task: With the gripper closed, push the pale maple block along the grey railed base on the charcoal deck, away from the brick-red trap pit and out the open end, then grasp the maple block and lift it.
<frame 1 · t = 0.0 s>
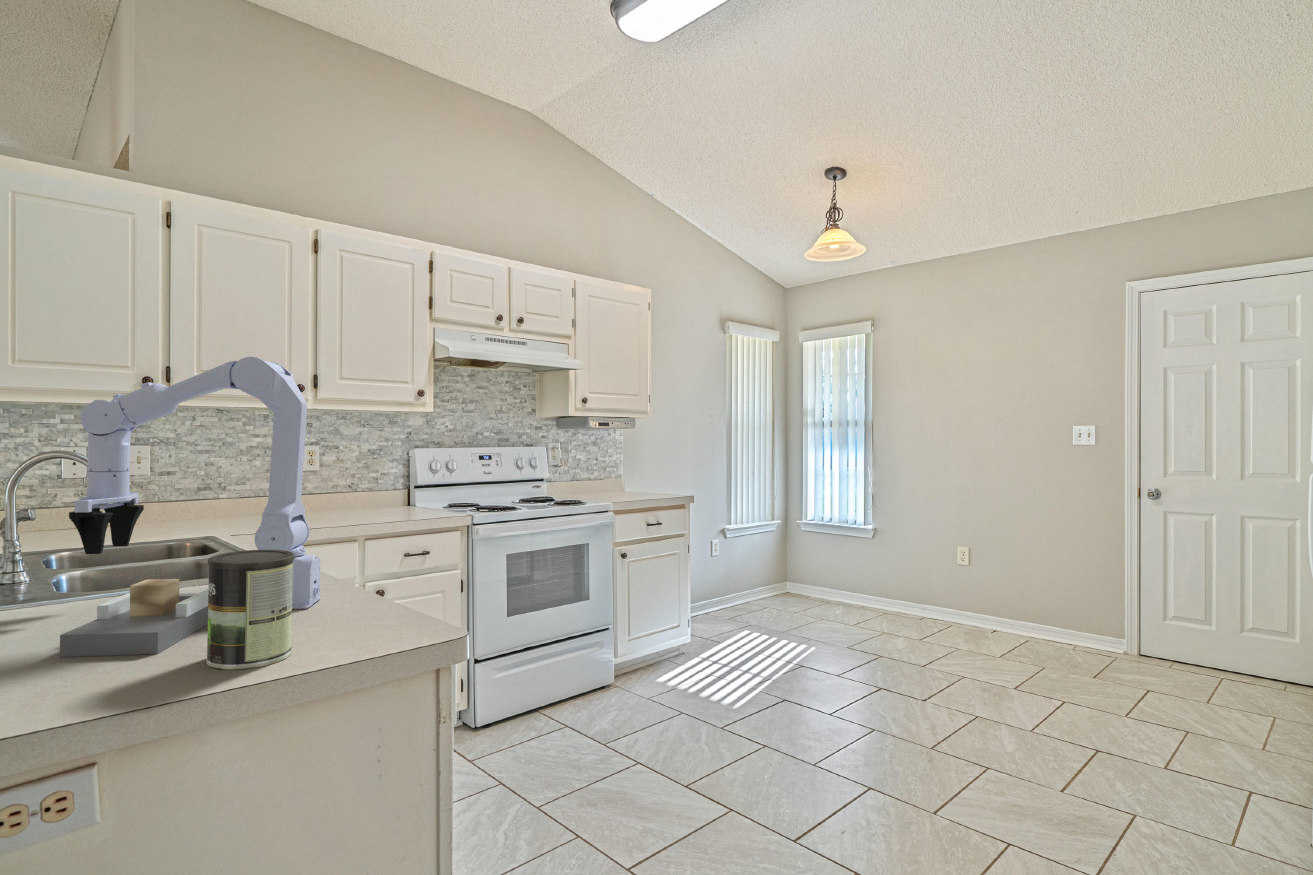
hand: (107, 549, 119), 10 cm above the counter, fingers open, 7 cm apart
coffee can: (250, 659, 95), on the counter
block: (154, 612, 106), point 3 cm above the counter, touching grey railed base
grey railed base: (156, 630, 107), on the counter
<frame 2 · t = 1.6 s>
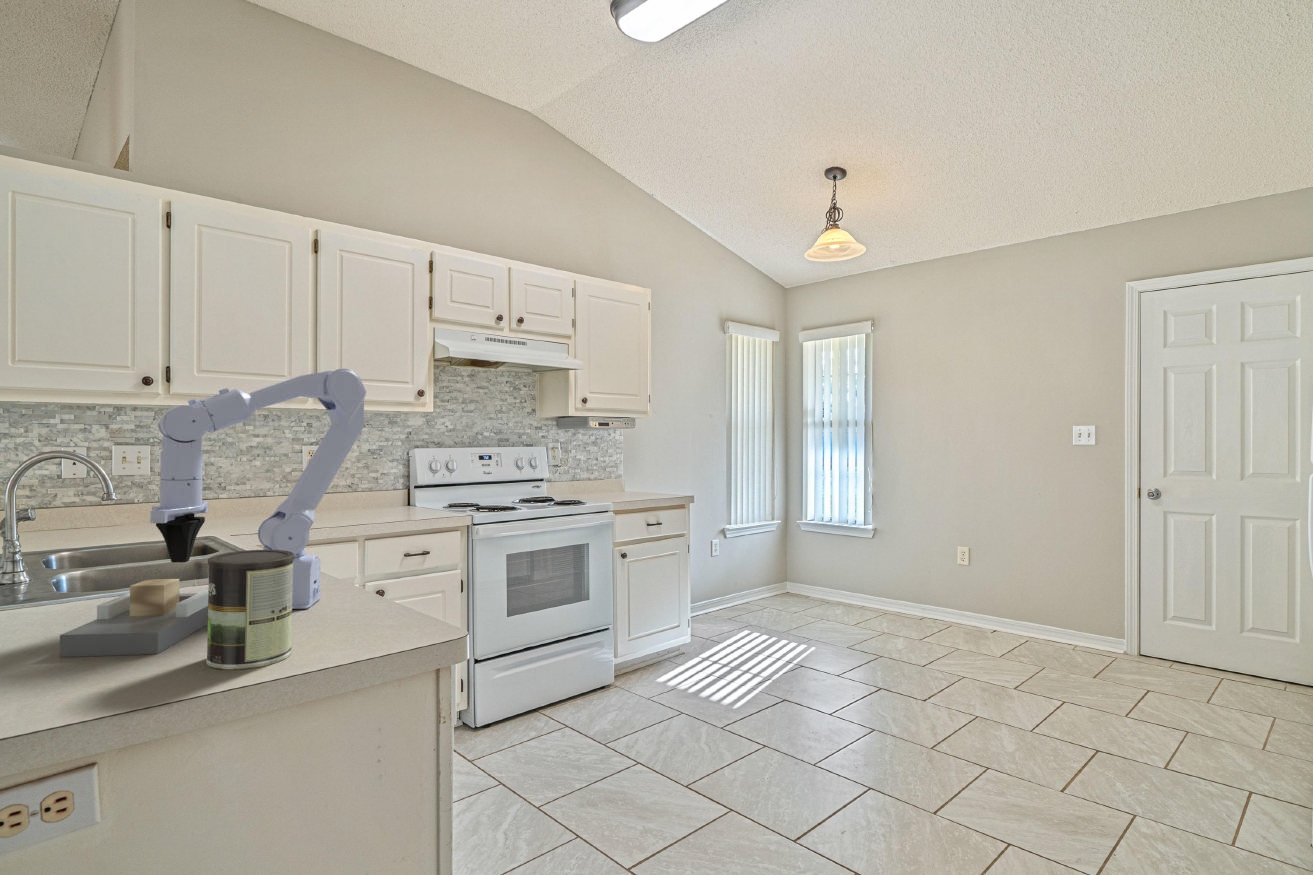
hand: (180, 561, 114), 9 cm above the counter, fingers closed
nothing on the counter moved.
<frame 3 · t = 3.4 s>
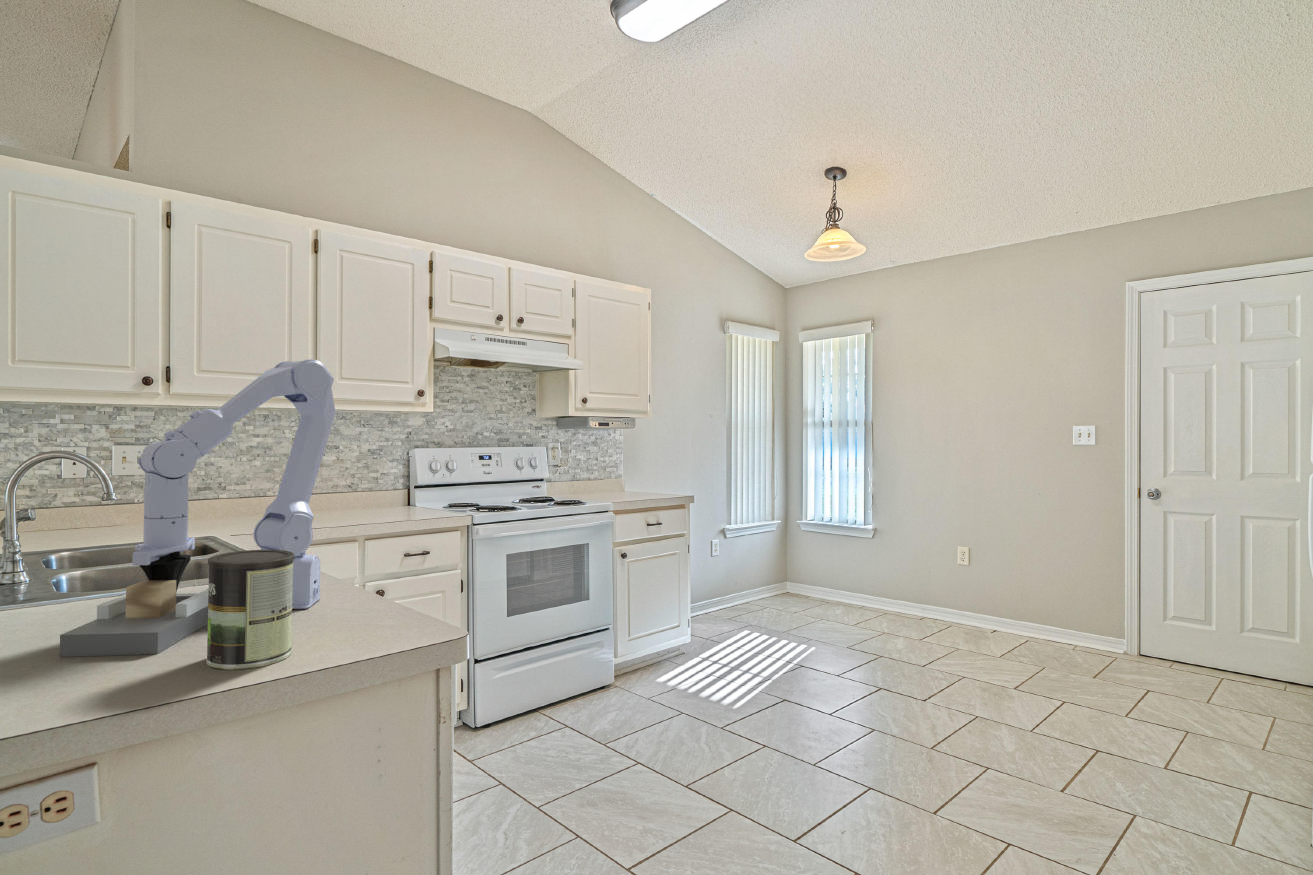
hand: (164, 602, 109), 4 cm above the counter, fingers closed
block: (151, 613, 105), point 3 cm above the counter, touching gripper
everything else where it was.
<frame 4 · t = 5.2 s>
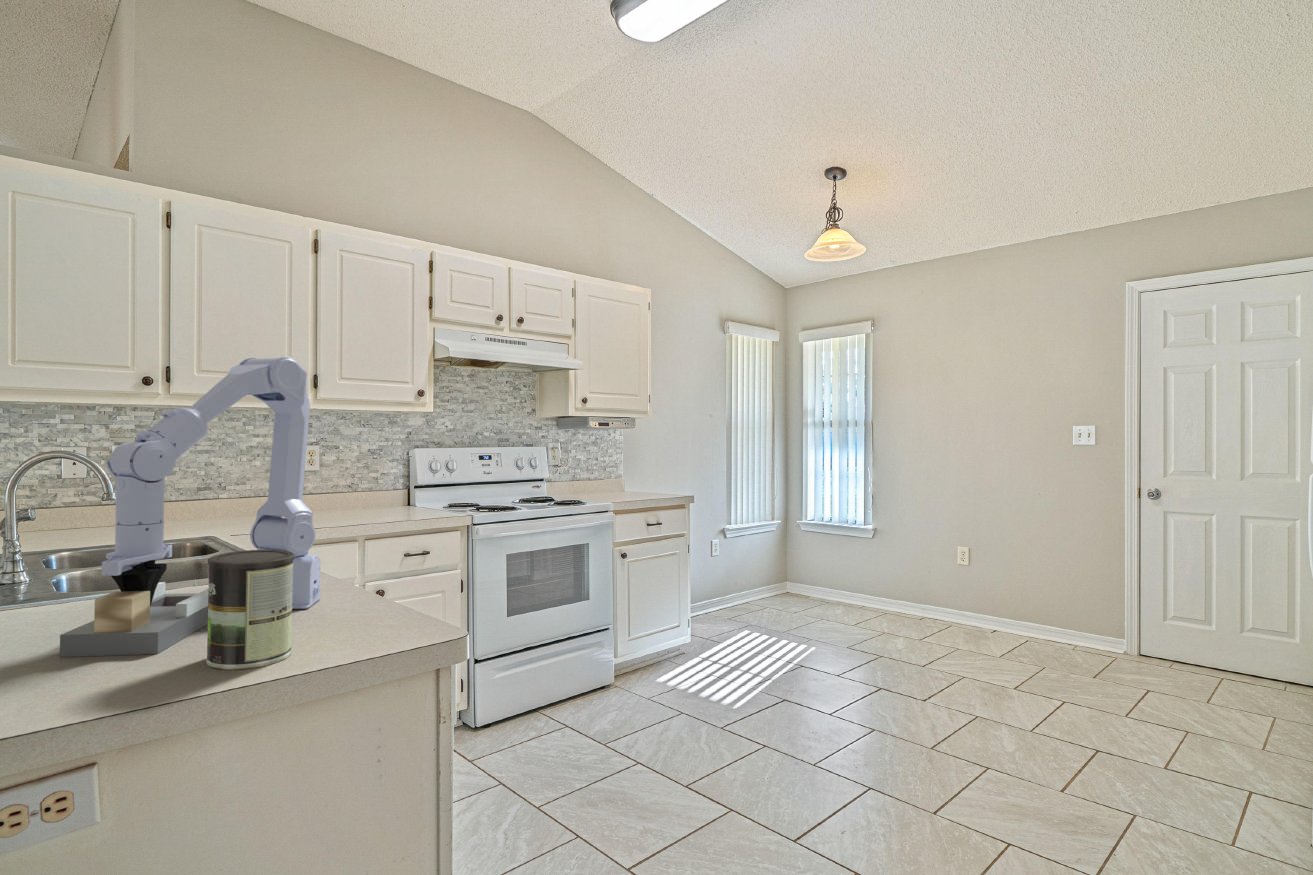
hand: (138, 615, 102), 4 cm above the counter, fingers closed
block: (122, 627, 98), point 3 cm above the counter, touching gripper, grey railed base
everything else where it was.
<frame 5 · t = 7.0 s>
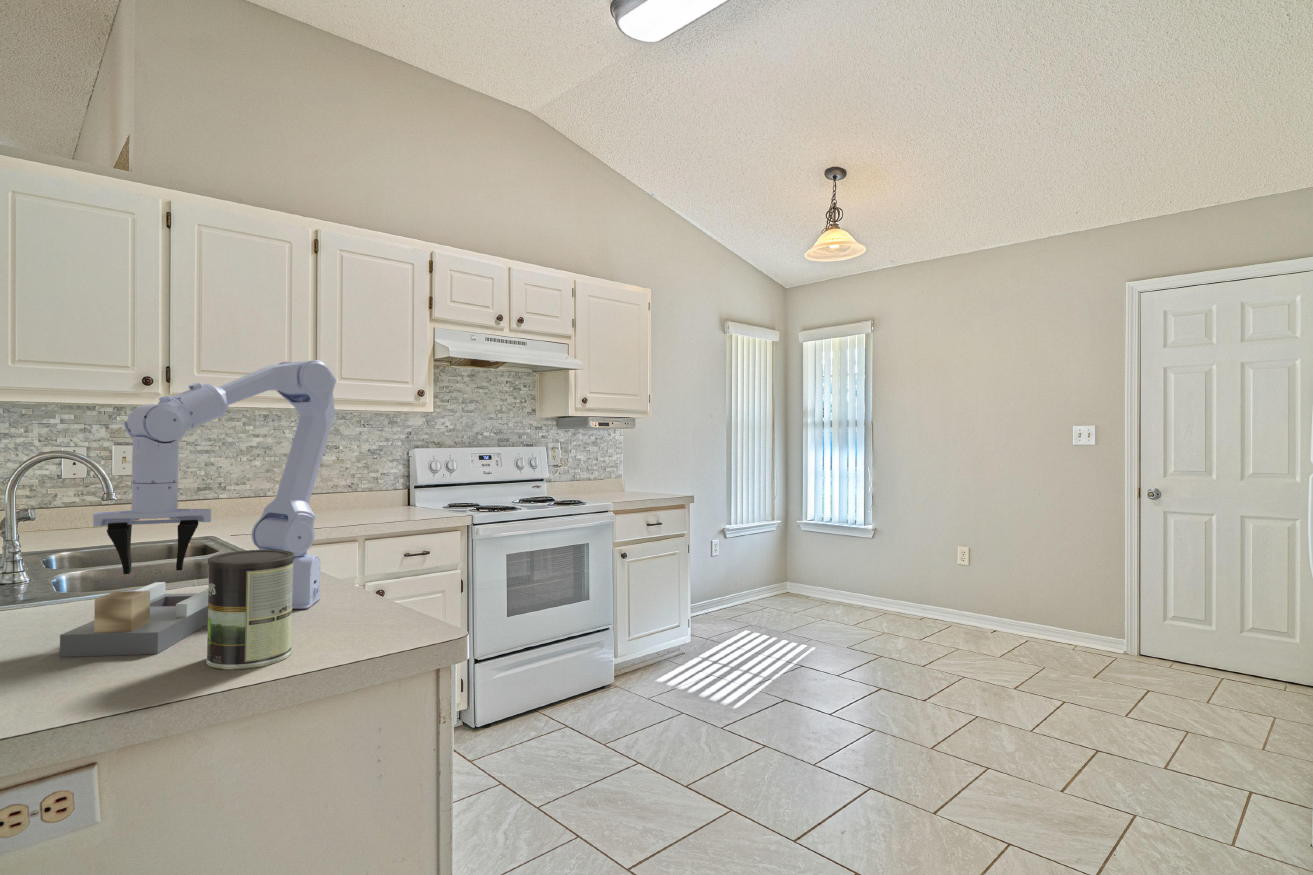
hand: (153, 571, 106), 9 cm above the counter, fingers open, 6 cm apart
block: (122, 627, 98), point 3 cm above the counter, touching grey railed base
everything else where it was.
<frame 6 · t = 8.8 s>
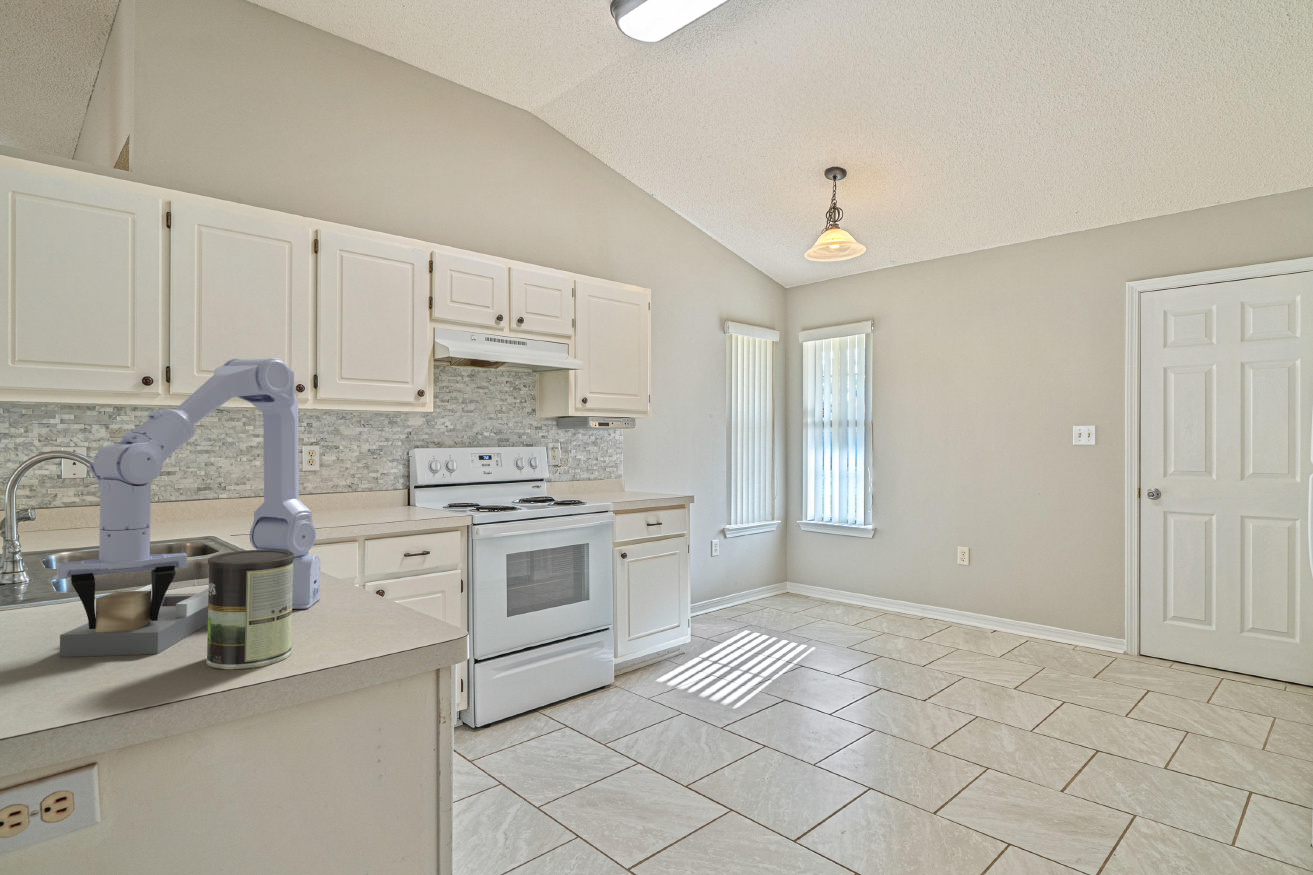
hand: (123, 623, 98), 3 cm above the counter, fingers closed on block, 6 cm apart
block: (123, 627, 98), point 3 cm above the counter, touching gripper, grey railed base
everything else where it was.
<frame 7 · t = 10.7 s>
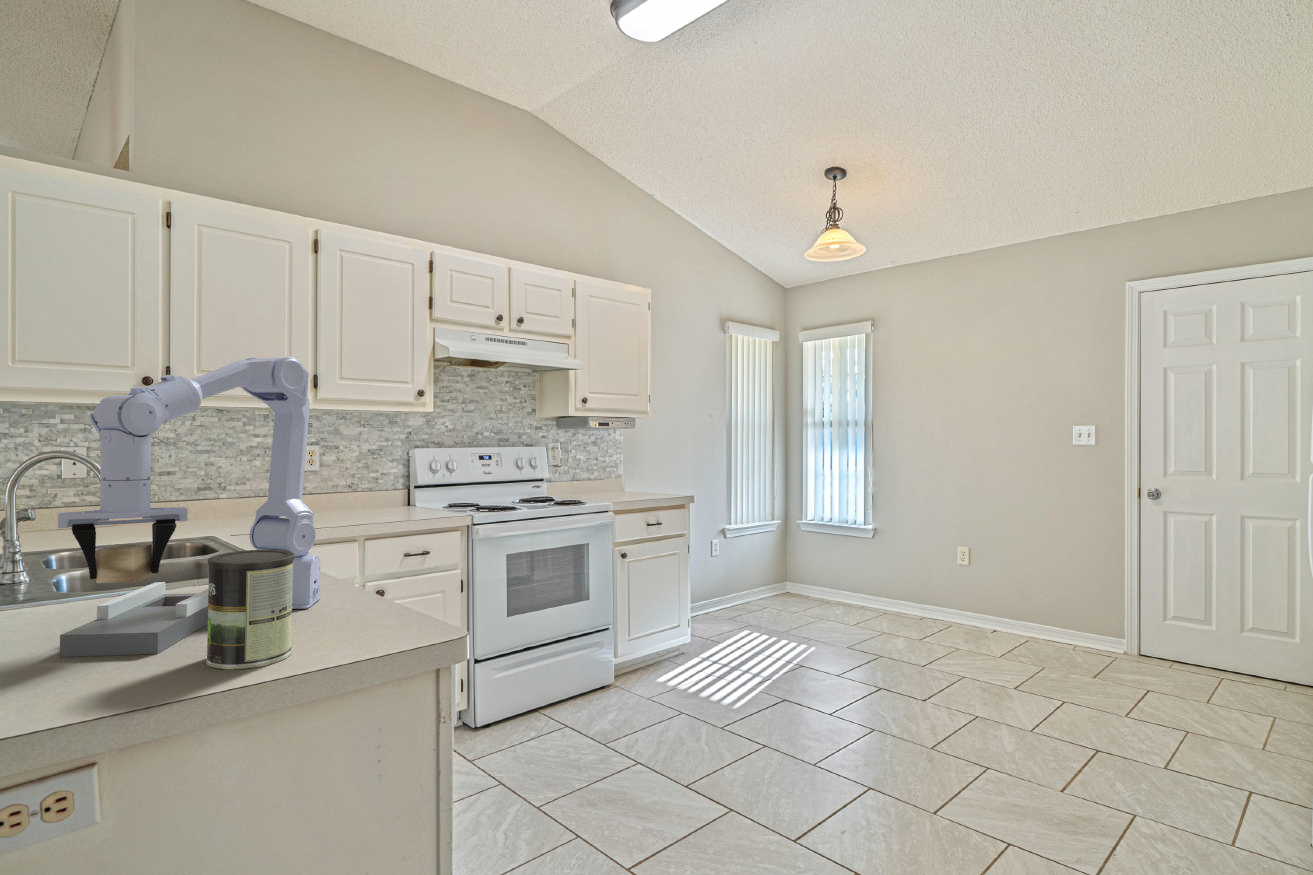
hand: (124, 575, 98), 10 cm above the counter, fingers closed on block, 6 cm apart
block: (124, 579, 98), point 10 cm above the counter, touching gripper
everything else where it was.
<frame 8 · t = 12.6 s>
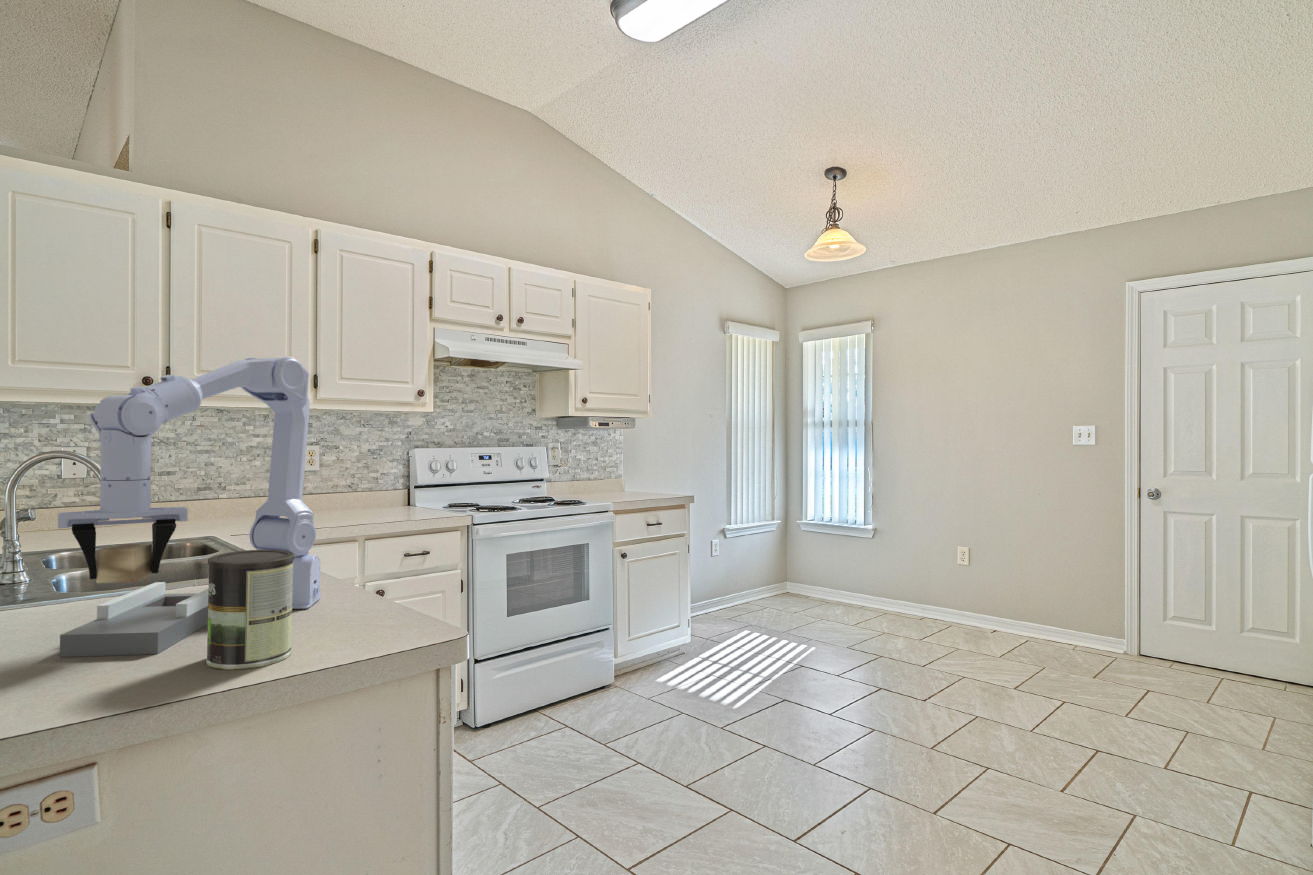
hand: (124, 575, 98), 10 cm above the counter, fingers closed on block, 6 cm apart
block: (124, 579, 98), point 10 cm above the counter, touching gripper
everything else where it was.
at the end: the gripper is holding block; block point 9.8 cm above the counter; block inside the target area on the grey railed base (0.3 cm from its centre), point 9.8 cm above the grey railed base's base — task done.
